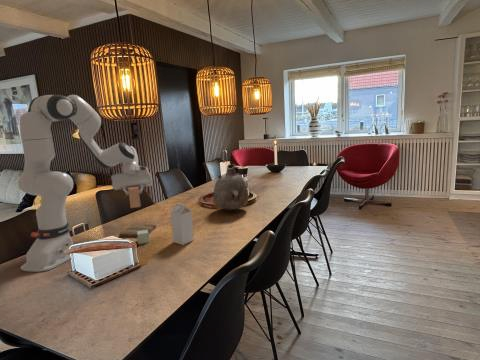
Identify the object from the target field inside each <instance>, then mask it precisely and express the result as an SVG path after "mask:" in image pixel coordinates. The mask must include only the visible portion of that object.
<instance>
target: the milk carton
mask: <svg viewBox="0 0 480 360" xmlns="http://www.w3.org/2000/svg"><path fill="white" fill-rule="evenodd" d="M170 221H171V223H170V224H171V231H172V233H171V234H172V242H173V243H174V244H179V245H182V246H184V245H186V244H189V243H191V242H193V241H194V229H193V228H194V227H193V211H192V210H191V209H189V208H188V207H186V204H183V203H179V202H175V204H174V207H173V208H172V210H171V211H170Z"/></svg>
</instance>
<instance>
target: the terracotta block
mask: <svg viewBox="0 0 480 360" xmlns="http://www.w3.org/2000/svg"><path fill="white" fill-rule="evenodd" d="M139 189H140V187H138V186H136V187H128V189H127V191H129V195H128V197H129V204H130V205H129V206H130V209H133V208H140V207H142V205H141V198H140V194H139Z"/></svg>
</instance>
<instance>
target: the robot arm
mask: <svg viewBox="0 0 480 360" xmlns="http://www.w3.org/2000/svg"><path fill="white" fill-rule="evenodd" d="M68 119H69V120H71V122H73V124H74V125H75V126H76V127H77V130H78V137H79V139H80V140H81V142H82V144H83V145H84V147H85V148H87V150H88V151H89V153H90V154H91V155H92V156H93V158H94V160H95V162H96V163H97V165H98V166H99V167H100V168H102V169H104V170H110V169H112V168H114V167H115V166H116V165H119V164H122V166H121V167H122V172H120V173H119V172H118V173H114V174H112V175H111V176H110V177H111V178H110V180H111V182H112V183H111V185H112V189H113V190H114V191H118V190H123V192H124V193H125V195H126V196H129V190H128V187H136V186H138V188H139V195H140V194H141V195H142V194H143V190H144V187H152V185H153V183H154V182H153V177H152V175H151V172H149V168H148V166H141V165H139V157H138V153H137V150H136V148H135V147H133V146H132V145H129V144H127V143H125V142H122V141H121V142H118V143H116V144H114V145H112V146H110V147H108V148H105V149H101V148H100V146H99V145H98V144H97V142H96V141H95V140H94V136H95V135H96V134H97V133H98V132H99V129H100V128H101V125H102V118H101V116H100V114H98V112H97V111H96V110H95V109H94V108H93V107H92V106H91V105H90V104H89V103H88V102H87V101H85V99H83V98H82V97H80V96H79V95H77V94H70V95H67V96H66V95H63V94H45V95H39V96H37V97H34V98H33V99H32V100H31V101H30V102H29V105H28V110H27V112H24V113H23V114H22V115H20V117H19V133H20V139H21V141H20V142H21V145H22V149H23V156H24V165H23V172H22V174H21V175H20V176H19V178H18V181H17V182H18V183H17V185H18V188H19V190H21V191H22V192H23V193H26V194H28V195H31V196H40V198H41V201H40V204H39V205H40V206H39V207H38V208H37V209H36V211H35V216H36V221H37V226H38V228H37V231H36V232H34V231H33V232H31V234H30V237H32V238H36V240H35V241H34V242H33V243H32V245H31V246H30V248H29V250H28V251H27V252H26V254H25V257H26V262H24V263H23V264H22V265H21V266H20V270H21V271H24V272H31V273H32V272H34V273H35V272H37V273H38V272H45V271H49V270H52V269H54V268H56V267H58V266H60V265H62V264H63V263H66V262H68V261H70V260H71V259H70V255H69V254H65V253H64V251H65V250H67V249H68V248H69V247H70V246H71V245H74V241H73V237H72V236H71V234H70V225H69V222H68V221H67V213H66V212H67V211H66V202H67V198H68V195H70V193H71V192H72V191H73V188H74V179H73V178H72V176H71V175H70V174H68V173H65V172H63V171H58V170H57V171H56V170H55V171H54V170H51V162H52V161H53V159H54V158H55V157H56V151H55V145H54V140H53V135H52V131H51V127H52V122H59V121H66V120H68Z"/></svg>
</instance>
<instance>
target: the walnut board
mask: <svg viewBox="0 0 480 360" xmlns="http://www.w3.org/2000/svg"><path fill="white" fill-rule="evenodd" d="M156 228H157V225H156V224H131V225H130V226H128V227H127V228H126V229H124V230H122V231H121V232H120V233H119V235H118V236H119V238H138V235H137V231H142V230H148V235H150V234H151V233H152V232H153V231H154V230H155V229H156Z"/></svg>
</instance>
